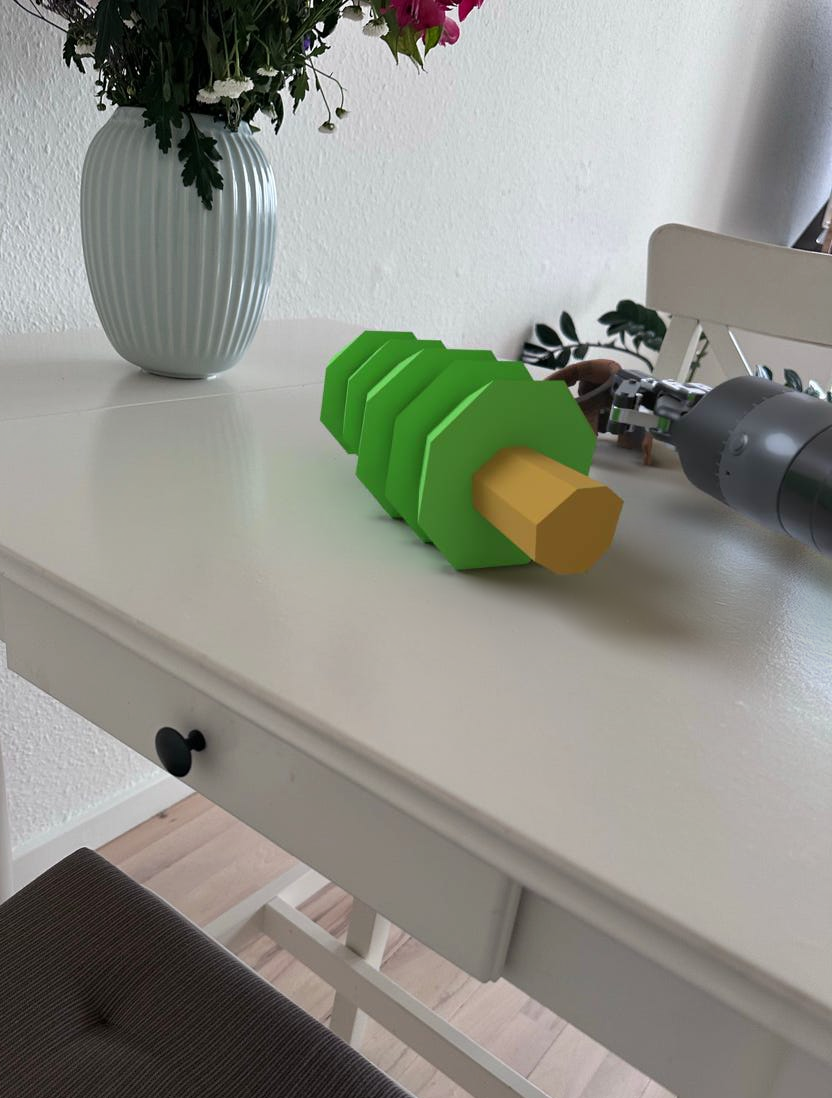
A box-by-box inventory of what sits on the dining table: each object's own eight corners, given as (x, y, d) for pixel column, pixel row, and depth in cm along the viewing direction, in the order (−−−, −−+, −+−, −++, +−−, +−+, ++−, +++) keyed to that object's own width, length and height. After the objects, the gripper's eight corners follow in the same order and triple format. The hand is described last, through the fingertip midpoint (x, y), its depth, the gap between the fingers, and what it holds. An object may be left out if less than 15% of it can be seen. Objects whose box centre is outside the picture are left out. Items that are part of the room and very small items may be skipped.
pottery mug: (662, 486, 73) (635, 389, 68) (540, 514, 77) (508, 424, 72) (662, 412, 81) (638, 322, 77) (552, 441, 85) (524, 357, 81)
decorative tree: (569, 374, 40) (303, 247, 63) (436, 605, 44) (229, 405, 67) (722, 466, 47) (430, 320, 70) (596, 661, 50) (357, 461, 73)
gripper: (665, 517, 56) (531, 430, 70) (844, 517, 60) (684, 435, 74) (701, 387, 52) (553, 324, 67) (889, 398, 57) (712, 336, 71)
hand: (622, 383), depth 71 cm, fingers closed
